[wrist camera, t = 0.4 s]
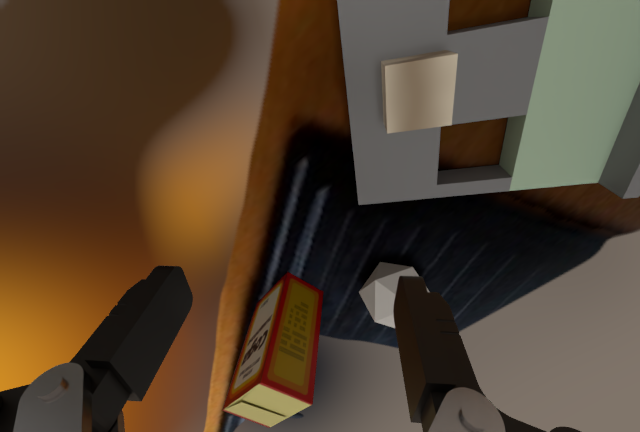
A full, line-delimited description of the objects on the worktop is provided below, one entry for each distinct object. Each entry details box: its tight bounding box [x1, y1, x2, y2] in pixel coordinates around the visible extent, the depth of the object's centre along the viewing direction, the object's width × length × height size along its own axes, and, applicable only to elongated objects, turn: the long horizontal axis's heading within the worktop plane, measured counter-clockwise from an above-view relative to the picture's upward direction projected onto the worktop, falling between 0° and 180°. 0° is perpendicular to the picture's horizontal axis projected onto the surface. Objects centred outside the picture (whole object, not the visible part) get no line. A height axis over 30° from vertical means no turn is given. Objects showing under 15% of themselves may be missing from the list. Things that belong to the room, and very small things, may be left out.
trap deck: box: [337, 0, 640, 205], centre depth 23 cm, size 24×22×6 cm
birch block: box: [381, 50, 458, 134], centre depth 23 cm, size 5×5×3 cm
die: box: [359, 262, 429, 328], centre depth 37 cm, size 8×9×10 cm
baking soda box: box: [222, 272, 323, 428], centre depth 39 cm, size 10×6×16 cm
